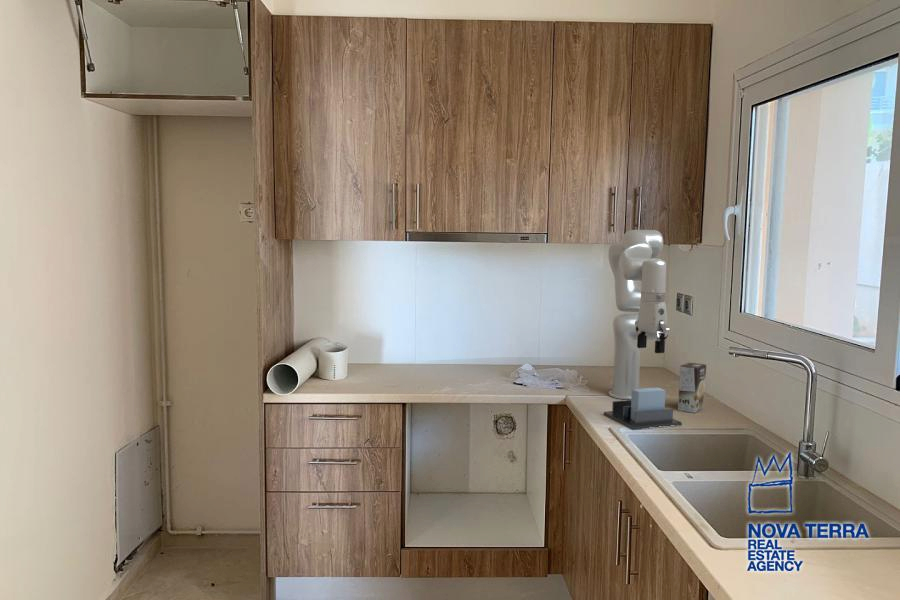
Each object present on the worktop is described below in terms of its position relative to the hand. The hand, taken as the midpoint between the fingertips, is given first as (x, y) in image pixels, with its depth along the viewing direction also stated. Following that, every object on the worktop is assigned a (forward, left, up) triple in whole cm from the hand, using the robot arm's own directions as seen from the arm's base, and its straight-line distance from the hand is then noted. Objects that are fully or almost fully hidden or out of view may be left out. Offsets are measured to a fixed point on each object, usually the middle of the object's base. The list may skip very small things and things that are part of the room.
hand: (650, 350), depth 206 cm
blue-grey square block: (0, 0, -23) cm, 23 cm away
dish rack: (-3, 0, -24) cm, 24 cm away
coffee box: (-10, +25, -24) cm, 36 cm away
